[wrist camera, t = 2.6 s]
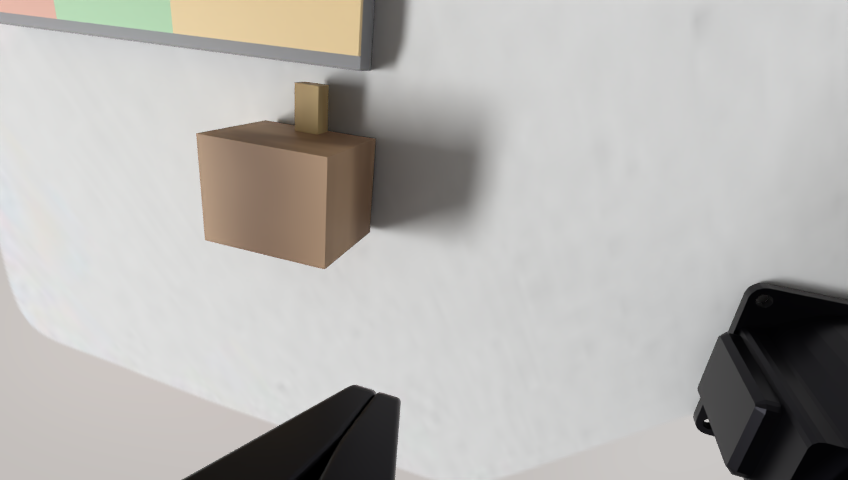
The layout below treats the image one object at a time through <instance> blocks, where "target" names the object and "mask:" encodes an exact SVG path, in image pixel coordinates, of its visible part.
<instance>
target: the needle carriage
mask: <svg viewBox="0 0 848 480" xmlns="http://www.w3.org/2000/svg"><path fill="white" fill-rule="evenodd" d="M328 95H329V85H325V84H318V83H310V82H297V83H295V125H290V124H284V123H278V122H272V121H266V120H265V121H260V122H255V123H249V124H244V125H239V126H234V127H228V128H223V129H218V130H212V131H207V132H202V133H196V136H197V148H198V160H199V172H200V184H201V196H202V208H203V220H204V232H205V240H207V241H211V242H215V243H219V244H223V245H227V246H231V247H236V248H240V249H244V250H248V251H252V252H256V253H260V254H264V255H268V256H272V257H277V258H281V259H285V260H289V261H293V262H297V263H301V264H305V265H309V266H313V267H318V268H322V269H325V268H327V267H328V266H329V265H330V264H332V263H333V262H334V261H335V260H336V259H338V258H339V257H340V256H341V255H343V254H344V253H345V252H346V251H347V250H349V249H350V248H351V247H352V246H353V245H355V244H356V243H357V242H358V241H360V240H361V239H362V238H363V237H364V236H366V235H367V234H368V233H369V232H370V219H371V203H372V188H373V172H374V156H375V141H376V139H374V138H368V137H362V136H356V135H350V134H344V133H338V132H332V131H328Z"/></svg>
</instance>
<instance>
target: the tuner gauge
mask: <svg viewBox="0 0 848 480" xmlns="http://www.w3.org/2000/svg"><path fill="white" fill-rule="evenodd" d="M374 4H375V0H0V24H7V25H14V26H22V27H29V28H37V29H45V30H52V31H60V32H68V33H75V34H83V35H90V36H98V37H106V38H113V39H121V40H128V41H136V42H144V43H151V44H159V45H167V46H174V47H182V48H189V49H197V50H205V51H212V52H220V53H227V54H235V55H243V56H250V57H258V58H266V59H273V60H281V61H288V62H296V63H304V64H311V65H319V66H326V67H334V68H342V69H349V70H357V71H369V70H371V57H372V39H373V21H374Z"/></svg>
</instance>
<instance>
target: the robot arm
mask: <svg viewBox="0 0 848 480" xmlns="http://www.w3.org/2000/svg"><path fill="white" fill-rule="evenodd" d="M761 295H769V298H768V299H767V300H766V301H764V302H762V303H758V302H756V299H757V298H758V297H759V296H761ZM698 392H699V395H700V400H699V402H698V405H697V407H696V410H695V412H694V416H693V418H694V421H695V424H696V426H697V428H698V429H699V430H700V431H701V432H703V433H705V434H708V435H712V436H715V438H716V441H717V444H718V446H719V449H720V452H721V455H722V457H723V460H724V463H725V465H726V467H727V468H728V469H729V471H730V472H731V474H733V475H736V476H739V477H743V478H744V480H848V300H845V299H840V298H835V297H830V296H825V295H820V294H815V293H810V292H805V291H800V290H795V289H790V288H785V287H781V286H776V285H771V284H765V283H758V284H754V285H752V286H750V287H749V288H748V289H747V290H746V291H745V293H744V295H743V298H742V300H741V302H740V305H739V307H738V310H737V312H736V314H735V317H734V319H733V321H732V324H731V326H730V329H729V331H728V332H726V333H724V334H722V335H721V336H719V337H718V339H717V342H716V344H715V347H714V349H713V352H712V354H711V356H710V359H709V361H708V364H707V366H706V369H705V371H704V373H703V376H702V378H701V381H700V383H699V386H698ZM400 404H401V401H400V399H399V398H398V397H394V396H391V395H388V394H385V393H381V392H379V393H377V394H376V392H375V391H374V390H371V389H368V388H365V387H361V386H358V385H352V386H349V387H347V388H345V389H344V390H342V391H340V392H338V393H336V394H335V395H333V396H331V397H329V398H327V399H326V400H324V401H322V402H320V403H319V404H317V405H315V406H313V407H311V408H310V409H308V410H306V411H304V412H302V413H301V414H299V415H297V416H295V417H293V418H292V419H290V420H288V421H286V422H284V423H283V424H281V425H279V426H277V427H276V428H274V429H272V430H270V431H268V432H267V433H265V434H263V435H261V436H259V437H258V438H256V439H254V440H252V441H250V442H249V443H247V444H245V445H244V446H242V447H240V448H238V449H236V450H234V451H233V452H231V453H229V454H227V455H226V456H224V457H222V458H220V459H218V460H216V461H215V462H213V463H211V464H209V465H207V466H206V467H204V468H202V469H200V470H198V471H197V472H195V473H193V474H191V475H190V476H188V477H186V478H184V479H182V480H395V470H396V457H397V444H398V431H399V417H400ZM706 419H709V422H704V420H706Z"/></svg>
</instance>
